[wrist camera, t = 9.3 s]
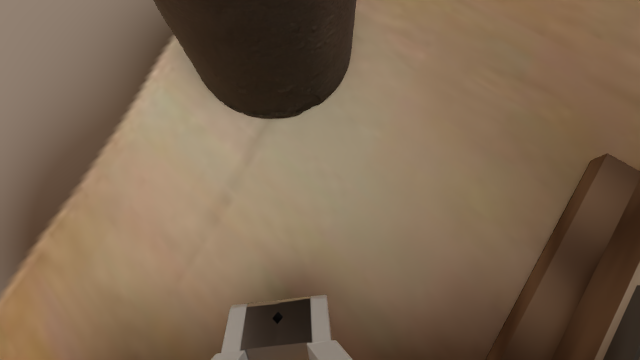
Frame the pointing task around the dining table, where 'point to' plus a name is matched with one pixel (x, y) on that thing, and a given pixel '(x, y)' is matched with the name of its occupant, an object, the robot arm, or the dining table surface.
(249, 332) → the robot arm
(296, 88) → the pillar candle
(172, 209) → the dining table surface
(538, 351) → the label placard
